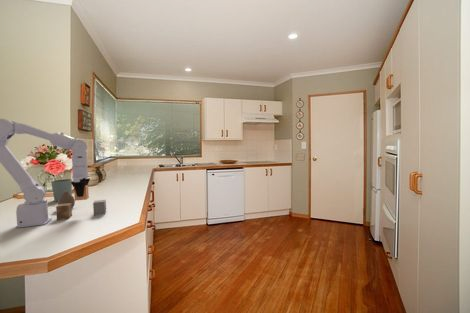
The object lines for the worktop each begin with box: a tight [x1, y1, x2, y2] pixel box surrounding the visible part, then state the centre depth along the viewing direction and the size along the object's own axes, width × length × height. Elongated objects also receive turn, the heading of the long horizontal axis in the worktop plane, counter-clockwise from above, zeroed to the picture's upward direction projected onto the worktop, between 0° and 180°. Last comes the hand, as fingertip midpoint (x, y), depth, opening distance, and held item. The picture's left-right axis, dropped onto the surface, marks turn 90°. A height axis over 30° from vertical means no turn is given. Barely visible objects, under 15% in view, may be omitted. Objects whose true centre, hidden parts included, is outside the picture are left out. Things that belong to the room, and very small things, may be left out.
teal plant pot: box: [50, 178, 73, 202], centre depth 139 cm, size 10×10×12 cm
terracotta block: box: [73, 184, 90, 202], centre depth 105 cm, size 4×4×6 cm
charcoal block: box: [92, 199, 107, 216], centre depth 108 cm, size 4×4×6 cm
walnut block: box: [55, 203, 73, 221], centre depth 103 cm, size 4×4×6 cm
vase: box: [57, 192, 76, 209], centre depth 117 cm, size 7×7×9 cm
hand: (81, 195), depth 105 cm, fingers closed on terracotta block, 4 cm apart
